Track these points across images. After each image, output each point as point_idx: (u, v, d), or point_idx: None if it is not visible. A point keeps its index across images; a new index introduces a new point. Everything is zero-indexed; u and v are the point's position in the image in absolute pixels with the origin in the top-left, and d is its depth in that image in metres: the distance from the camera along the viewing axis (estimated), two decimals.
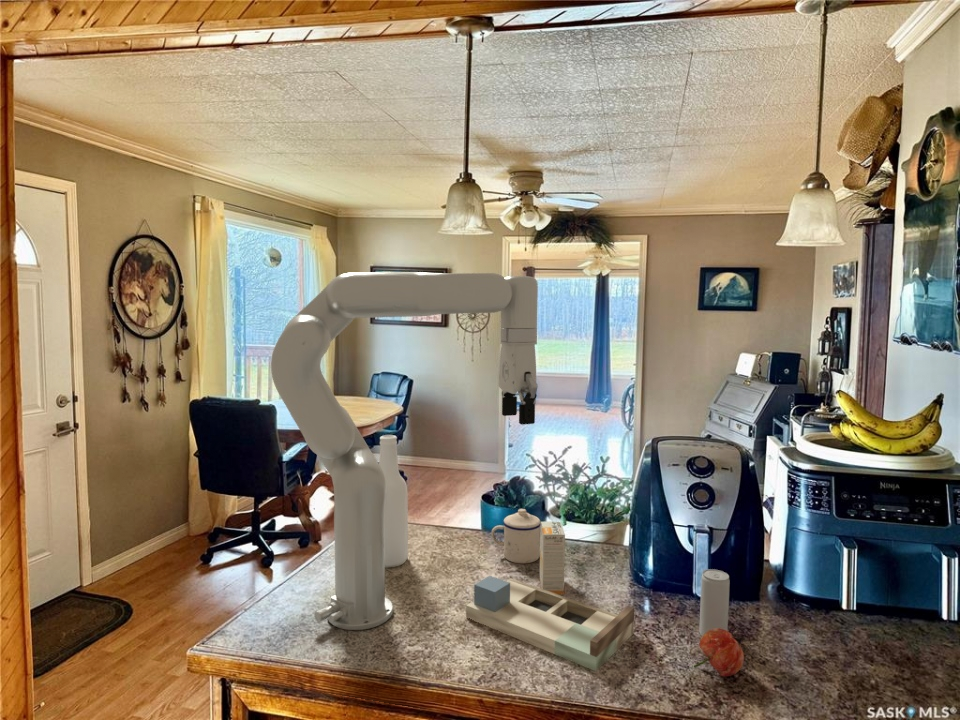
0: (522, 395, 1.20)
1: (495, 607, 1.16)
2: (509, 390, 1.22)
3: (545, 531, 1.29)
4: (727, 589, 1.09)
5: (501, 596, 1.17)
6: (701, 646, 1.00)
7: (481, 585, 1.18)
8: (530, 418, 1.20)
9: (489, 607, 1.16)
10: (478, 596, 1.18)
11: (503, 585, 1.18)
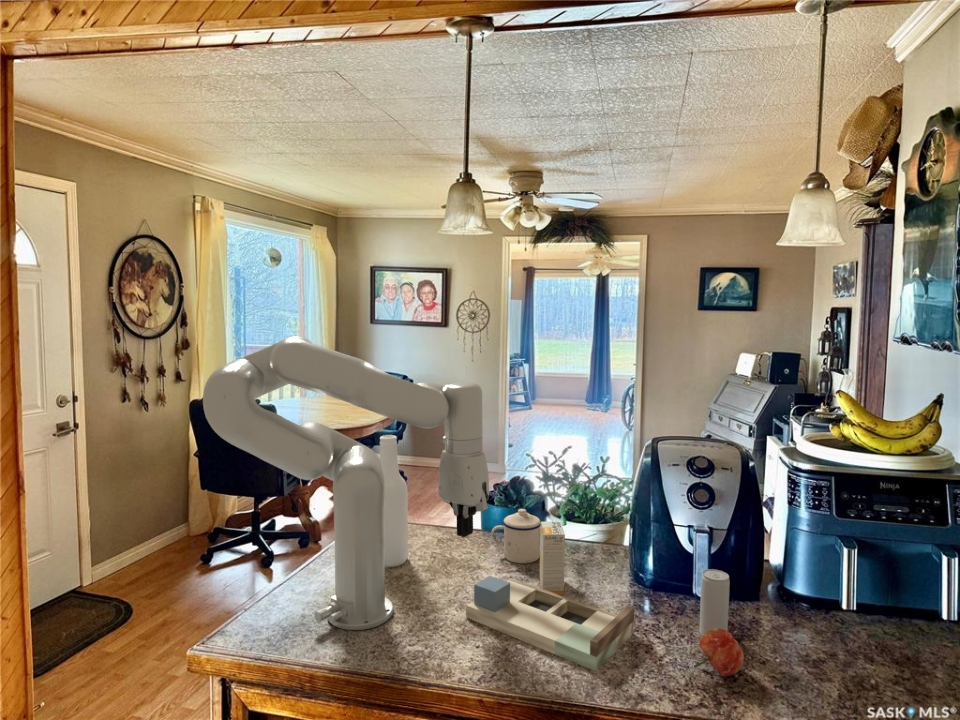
0: (468, 510, 1.20)
1: (495, 607, 1.16)
2: (464, 503, 1.18)
3: (545, 531, 1.29)
4: (727, 589, 1.09)
5: (501, 596, 1.17)
6: (701, 646, 1.00)
7: (481, 585, 1.18)
8: (471, 529, 1.22)
9: (489, 607, 1.16)
10: (478, 596, 1.18)
11: (503, 585, 1.18)
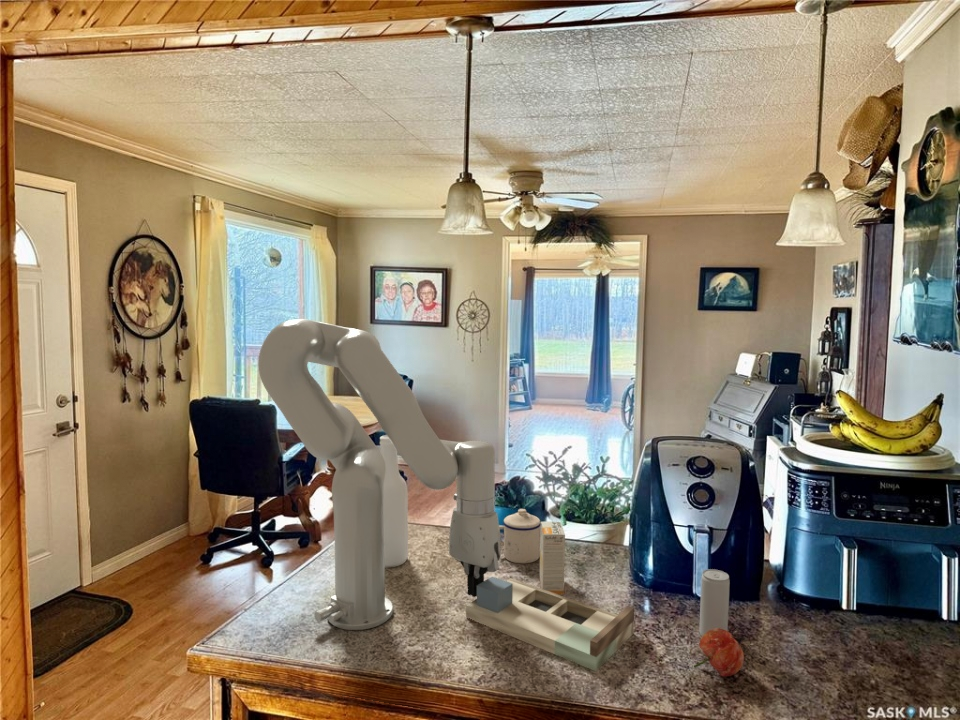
0: (479, 570, 1.19)
1: (498, 608, 1.15)
2: (476, 563, 1.17)
3: (545, 531, 1.29)
4: (727, 589, 1.09)
5: (504, 596, 1.17)
6: (701, 646, 1.00)
7: (483, 586, 1.17)
8: None
9: (492, 608, 1.16)
10: (481, 597, 1.17)
11: (506, 586, 1.18)
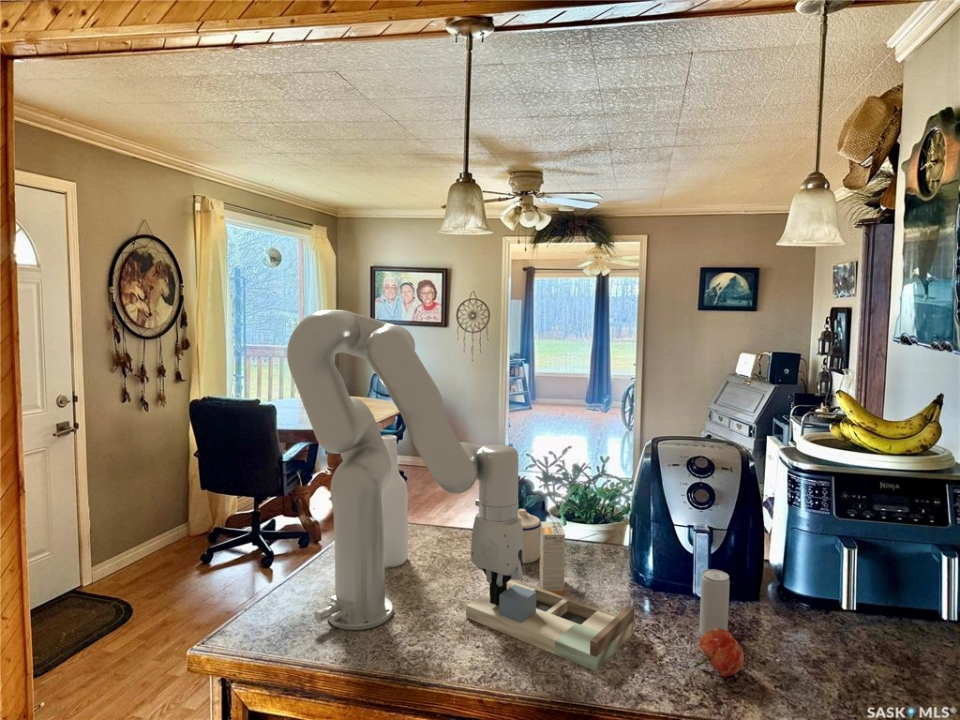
0: (502, 578, 1.16)
1: (522, 618, 1.12)
2: (499, 571, 1.14)
3: (545, 531, 1.29)
4: (727, 589, 1.09)
5: (528, 606, 1.13)
6: (701, 646, 1.00)
7: (506, 595, 1.14)
8: None
9: (515, 617, 1.12)
10: (504, 606, 1.14)
11: (529, 595, 1.14)
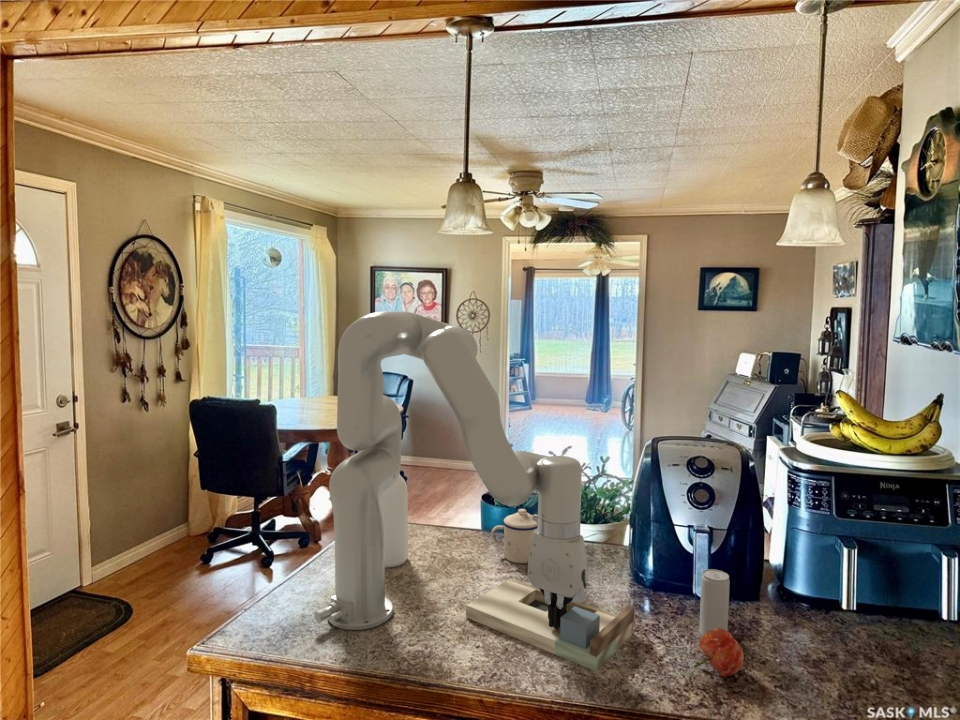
0: (563, 600, 1.07)
1: (586, 643, 1.03)
2: (561, 593, 1.06)
3: None
4: (727, 589, 1.09)
5: (592, 630, 1.05)
6: (701, 646, 1.00)
7: (568, 618, 1.05)
8: None
9: (579, 643, 1.04)
10: (566, 630, 1.05)
11: (593, 618, 1.06)
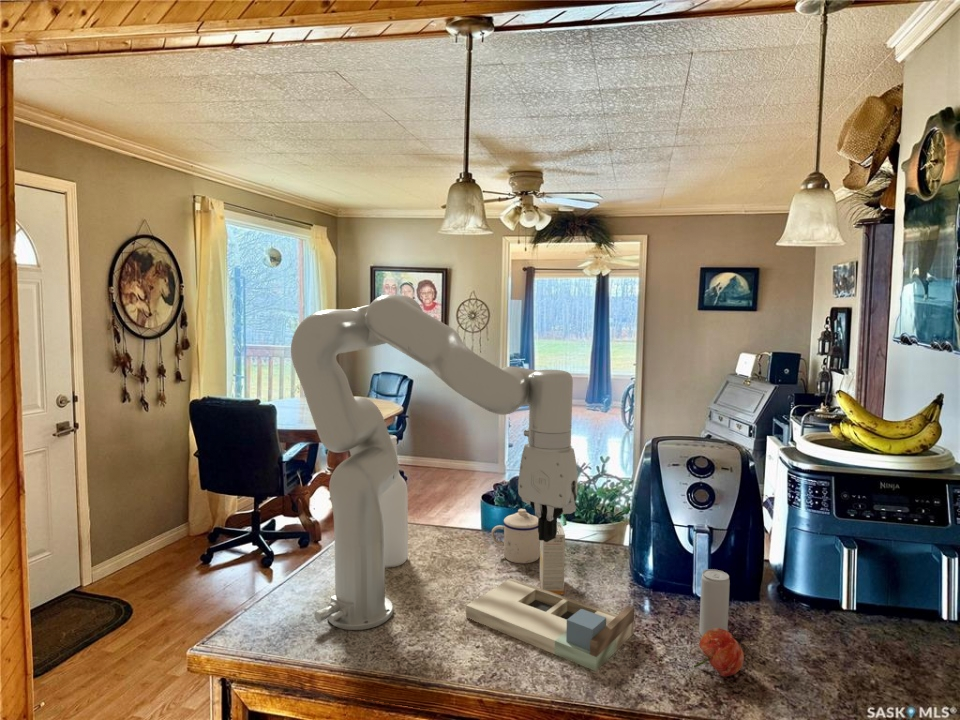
0: (553, 512, 1.07)
1: None
2: (551, 504, 1.05)
3: None
4: (727, 589, 1.09)
5: None
6: (701, 646, 1.00)
7: (574, 621, 1.05)
8: (555, 533, 1.09)
9: (585, 646, 1.03)
10: (572, 633, 1.05)
11: (599, 621, 1.05)
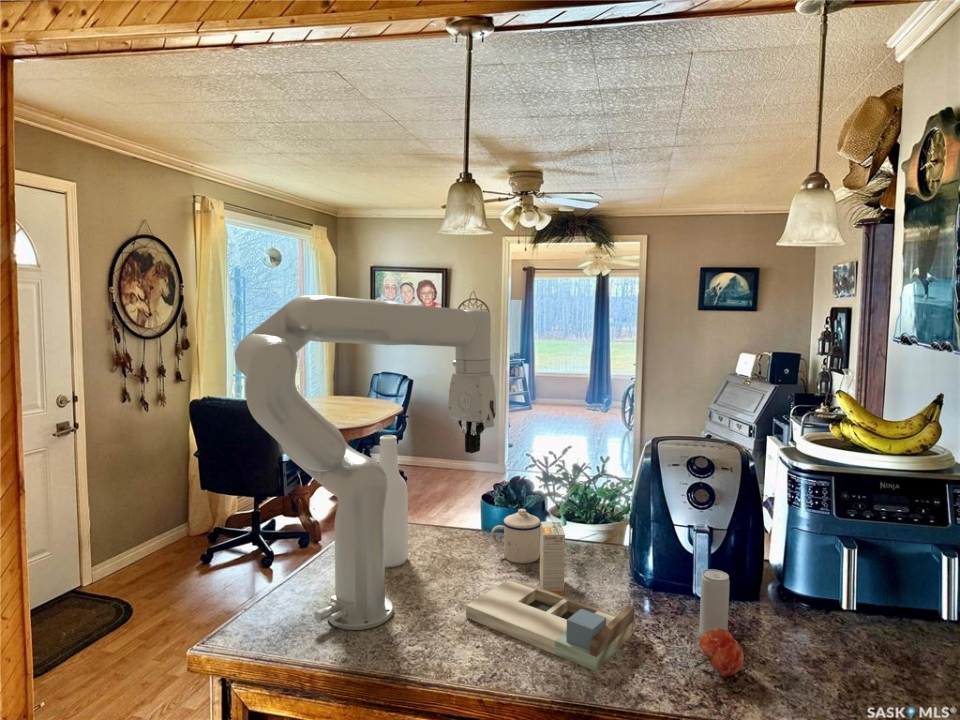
0: (476, 428, 1.29)
1: None
2: (473, 419, 1.27)
3: (545, 531, 1.29)
4: (727, 589, 1.09)
5: None
6: (701, 646, 1.00)
7: (574, 621, 1.05)
8: (479, 446, 1.31)
9: (585, 646, 1.03)
10: (572, 633, 1.05)
11: (599, 621, 1.05)
